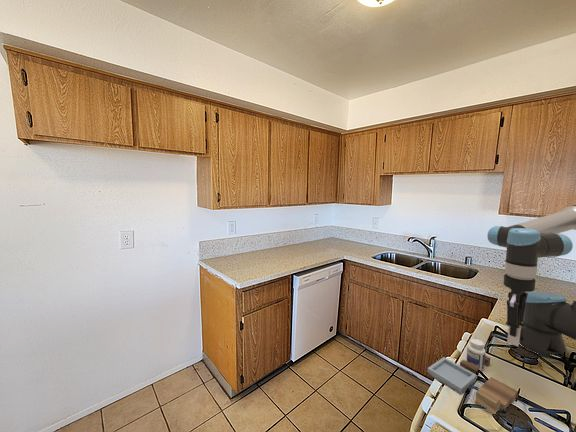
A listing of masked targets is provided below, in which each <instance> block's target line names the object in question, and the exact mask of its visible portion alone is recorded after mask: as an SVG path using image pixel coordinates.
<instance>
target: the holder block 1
mask: <svg viewBox="0 0 576 432" xmlns="http://www.w3.org/2000/svg"><path fill="white" fill-rule="evenodd" d="M459 366H461V367H463V368H465V369H467V370H469V371H470V372H472V373H474V374H476V372H477V371H478V370H479V367H477V366H475V365H473V364H471V363H469V362H467V360H466V359H464V358H463V359H462V360H461V361H460V362H459Z"/></svg>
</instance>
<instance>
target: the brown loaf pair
mask: <svg viewBox="0 0 576 432" xmlns="http://www.w3.org/2000/svg"><path fill="white" fill-rule="evenodd" d="M480 388H482V389H484V390H486V391H488V392H489V393H491V394H493V395H495V396H496V397H498V398H500V408H502V409H505V408H506V407H508V406H509V405H510V404H511V405H512V404H513V403H514V401H515V400H516V399H517V398H516V395H517V394H518V392H519V391H518V390H516V389H515V388H513V387H511V386H508V385H507V384H506V383H504V382H501V381H499V380H497V379H496V378H494V377H492V376H491V377H490V378H489V379H488V380H486V381H485V382H484V383H483V384H482V385H481V386H480V387H478V388H477V390H476V392H477V391H478V390H479V389H480ZM517 396H518V395H517ZM515 398H516V399H515ZM511 405H510V406H511ZM510 406H509V407H510ZM509 407H508V408H509Z"/></svg>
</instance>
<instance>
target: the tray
mask: <svg viewBox="0 0 576 432" xmlns="http://www.w3.org/2000/svg"><path fill="white" fill-rule="evenodd" d="M427 374H428V375H429V376H431V377H433V378H434V379H436V380H438V381H439V382H441V383H442V384H444V385H445V386H446V387H448V388H450V389H452V390H453V391H455V392H457V393H458V394H459V395H462V394H463V393H464V392H466V391H467V390H468V389H469V388H470V387H471V386H472V385H473V384H474V383H476V382H477V381H476V379H477V380H478V375H476V374H474V373H472V372H470V371H469V370H467V369H465V368H463V367H461V366H460V364H457V363H456V362H454V361H451V360H450V359H448V358H447V357H445V356H443V357H442V358H440V359H439V360H437V361H436V362H434V363H433V364H431V365H429V366H428V367H427ZM475 381H476V382H475ZM470 385H471V386H470ZM469 386H470V387H469ZM468 387H469V388H468ZM467 388H468V389H467Z"/></svg>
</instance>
